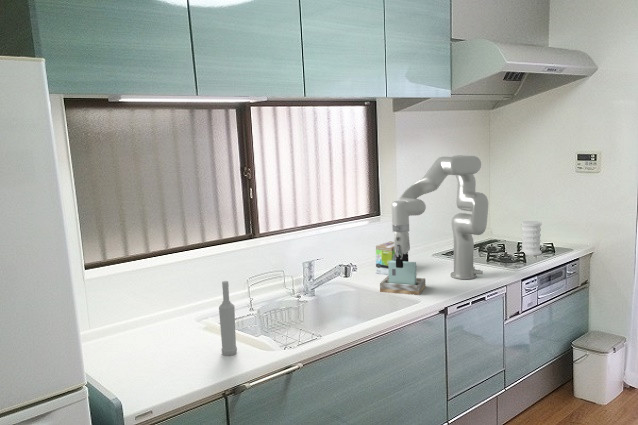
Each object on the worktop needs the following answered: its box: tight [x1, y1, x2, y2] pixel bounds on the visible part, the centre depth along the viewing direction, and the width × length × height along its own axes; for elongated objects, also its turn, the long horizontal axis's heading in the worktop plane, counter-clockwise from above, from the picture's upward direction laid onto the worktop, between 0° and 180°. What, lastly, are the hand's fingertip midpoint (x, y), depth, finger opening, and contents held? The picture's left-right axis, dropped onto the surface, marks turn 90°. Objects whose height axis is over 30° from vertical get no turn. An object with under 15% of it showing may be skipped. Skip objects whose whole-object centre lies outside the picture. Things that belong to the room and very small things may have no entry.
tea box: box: [375, 241, 401, 276], centre depth 288 cm, size 15×10×15 cm
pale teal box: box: [388, 261, 417, 285], centre depth 252 cm, size 12×4×12 cm, turn 67°
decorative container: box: [519, 220, 543, 256], centre depth 318 cm, size 12×12×18 cm
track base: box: [379, 275, 427, 296], centre depth 256 cm, size 18×14×4 cm
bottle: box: [218, 280, 238, 357], centre depth 186 cm, size 5×5×25 cm
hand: (402, 264), depth 252 cm, fingers open, 9 cm apart
